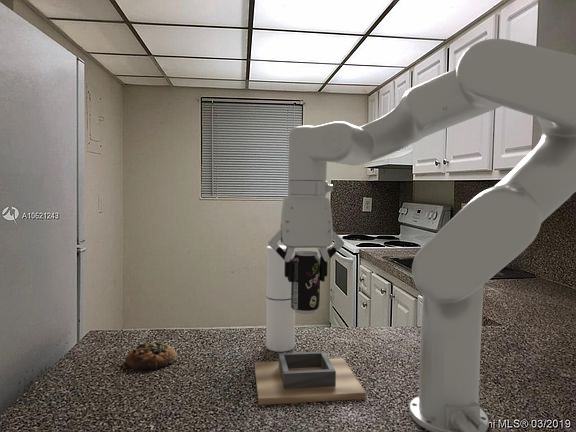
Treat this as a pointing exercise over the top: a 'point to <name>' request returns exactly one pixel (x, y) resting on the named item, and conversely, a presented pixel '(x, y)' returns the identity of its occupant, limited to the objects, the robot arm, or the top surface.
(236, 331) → the top surface
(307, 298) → the beverage can
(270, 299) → the cylindrical container
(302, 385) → the board
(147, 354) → the bread roll
